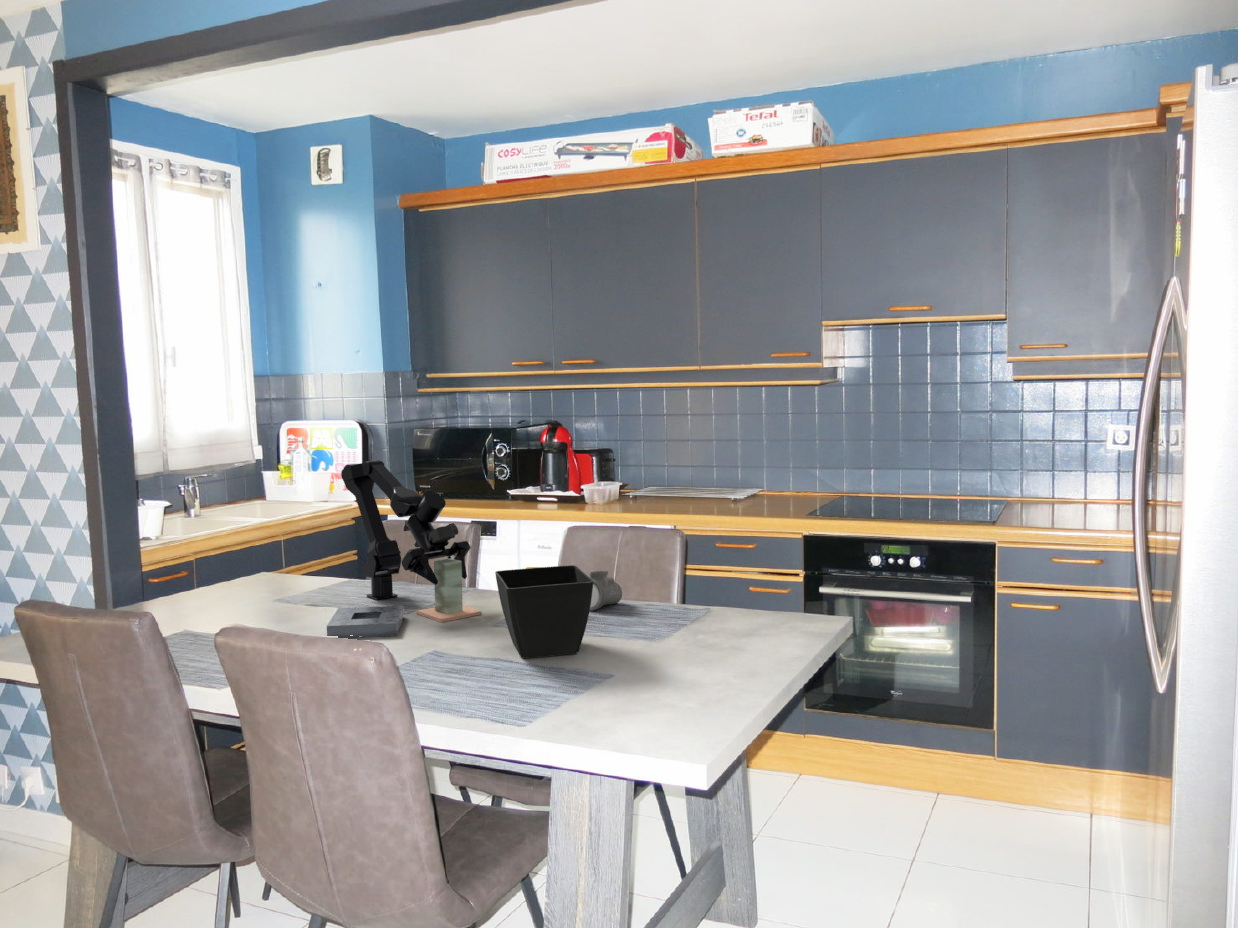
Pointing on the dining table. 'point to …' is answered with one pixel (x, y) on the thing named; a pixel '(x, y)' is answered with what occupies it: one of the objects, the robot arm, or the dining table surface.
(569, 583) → the flower pot
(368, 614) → the socket plate
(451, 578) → the square plug
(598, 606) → the pipe fitting
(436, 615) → the terracotta pad
